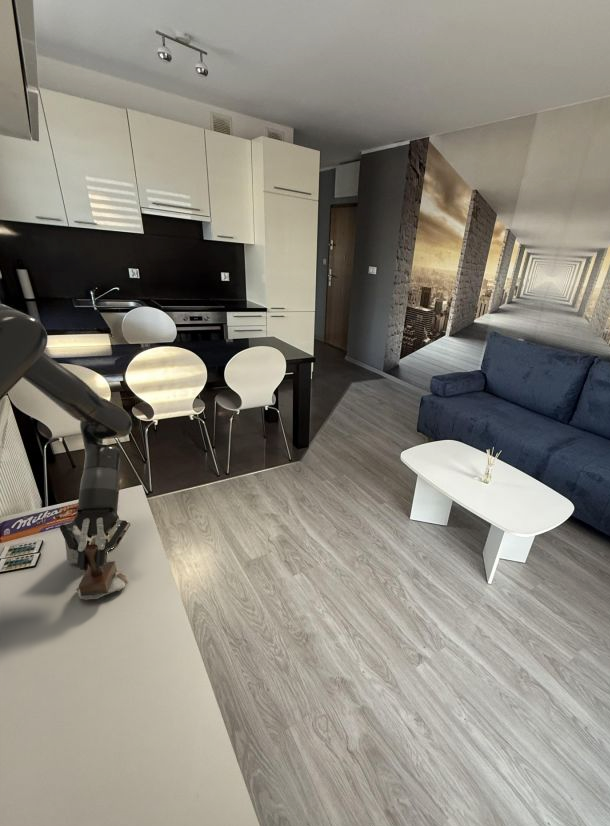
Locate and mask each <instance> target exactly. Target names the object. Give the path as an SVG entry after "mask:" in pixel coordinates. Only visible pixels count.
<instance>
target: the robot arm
mask: <svg viewBox="0 0 610 826" xmlns="http://www.w3.org/2000/svg"><path fill="white" fill-rule="evenodd" d="M48 339H49V338H48V333H47V330H46V328H45V326H44V325H43V324H42V323H41V322H40V320H38V319H36V318H34V317H33V316H31V315H30V314H27V313H24V312H22V311H20V310H17V309H15V308H12V307H10V306H8V305H5V304H3V303H0V402H2V400H3V399H4V398H5V397H6V396H7V394H8V393H9V392H10V391H12V389H13V388H14V387H15V386H16V385H17V384H18V383H19V382H20V381H21V380H22V379H24V380H25V381H26V382H28V383H29V384H31V386H33V387H34V388H35V389H37V390H38V391H39V392H41V394H43V395H44V396H45V397H46V398H48V399H49V400H50V401H52V402H53V403H54V404H55V405H56V406H58V407H59V408H60V409H61V410H63V411H64V412H65V413H66V414H68V415H69V416H70V417H71V418H73V419H75V420H77V421H80V423H79V428H80V429H79V430H80V433H81V438H82V442H83V448H84V453H85V454H84V462H83V471H82V476H81V479H80V485H79V493H78V501H77V509H76V515H75V517H74V518H73V521H71V522H68V523H66V524H64V523H63V524H60V525H59V530H60V532H61V534H62V537H63V539H64V542H65V541H66V543H67V545H68V547H69V549H72V550H76V551H78V561H77V564H76V567H77V568H79V571H87V569H88V562H87V558H86V554H85V550H84V549H85V547H86V546H88V545H90V543H91V541H92V538H93V536H95V535H97V536H98V540H99V551H97V559H96V569H103V566H105V565H106V563H107V562H108V554H107V552H108V550H109V549H111V548H113V547H115V548H117V547H118V546H119V545H120V543H121V541H122V540H123V538H124V536H125V535H126V533H127V532H128V530H129V528H130V527H131V522H129V521H128V520H123V519H121V518H120V516H119V515H118V506H119V495H120V494H119V493H120V490H121V485H120V484H121V480H120V479H121V478H120V477H121V476H120V469H121V461H122V460H121V458H122V453H121V450H120V449H119V448H118V447H116V446H113V445H108V444H103V442H104V440H110V439H111V440H112V439H120V438H124V437H127V436H128V435H129V434H131V431H132V430H133V420H132V418H131V416H130V414H129V413H128V412H127V411H126V410H125V409H124V408H123V407H121V406H119V405H118V404H116V403H114V402H112V401H110V400H108V399H106V398H104V397H102V396H100V395H99V394H98V393H97V392H96V391H95V390H93V388H92V387H90V385H89V384H88V383H87V382H85V381H84V380H83V379H82V378H80V377H79V376H78V375H76V374H75V373H73V372H72V371H70V370H69V369H67V368H66V367H65V366H63V365H62V364H60V363H59V362H57V361H56V360H54V359H53V358H51V356H49V355H48V354H47V353H46V352H45V350H46V348H47V345H48ZM116 523H117V524H116ZM115 524H116V531H115V533H114V535H113V536H112V538H111V539H110V541H109V531H110V530H111V529H112V528H113V527H114V525H115ZM76 526H77V527H78V529H79V530H80V531H81V534H80V538H79V539H80V542H79V544H78V542H77V539H76V537H75V535H74V532H75V527H76ZM108 553H109V552H108Z"/></svg>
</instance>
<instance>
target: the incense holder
mask: <svg viewBox="0 0 610 826" xmlns="http://www.w3.org/2000/svg"><path fill="white" fill-rule="evenodd" d="M116 525H117V523H116V524H115V525H114V527H113V528H112V529H111V530H110V531H109V541H110V539H111V538H112V536H113V535H114V533H115V531H116V530H117V528H116ZM80 534H81V531H80V530H79V529H78V527H77V526H76V527H75V532H74V535H75V537H76V539H77V542H78V544H79V542H80V539H79V538H80ZM64 544H65V552H66V561H67V562H68V563H70V564H76V565H77V561H78V551H76V550H72V549H69V547H68V545H67V543H66V541H65V540H64ZM91 544H96V545H97V546H98V550H99V540H98V536H97V535H95V536H93V538H92V541H91V543H90V545H91ZM109 550H110V549H109ZM109 550H108V551H109ZM109 552H110V551H109ZM88 567H89V566H88Z"/></svg>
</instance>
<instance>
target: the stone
mask: <svg viewBox="0 0 610 826" xmlns="http://www.w3.org/2000/svg"><path fill="white" fill-rule="evenodd" d="M127 584H128V580H127V577H126V573H125V572H122V571H117V572H116V575H115V577H114V579H113V582H112V584H111V586H110V589H109V591H108V593H106V594H97V595H87V596H81V593H80V589H79V585H77V587H76V588H75V589H76V592H77V593H78V594H77V596H78V598H79V599H81V600H87V601H88V600H97V599H100V598H102V597H104V596H106V595H109V594H111V593H115V592H116V591H117V592H120V591H121V590H122V589H124V588H125V587H126V585H127Z"/></svg>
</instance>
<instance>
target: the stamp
mask: <svg viewBox="0 0 610 826" xmlns="http://www.w3.org/2000/svg"><path fill="white" fill-rule="evenodd" d="M84 550H85V554H86V558H87V562H88V566H89V567H88V568H87V570H85V573H84V575H83V576H82V578H81V580H80V582H79V584H78V586H79V589H80V593H81V596H87V595H97V594H106V593H108V591H109V589H110V586H111V584H112V582H113V579H114V577H115V575H116V572H118V570H117V565H116V560H115V561H114V560H113V561H107V563H106V565H105V566H103V569H96V559H97V551H99V550H98V546H97V545H96V544H91V545H88V546H86V547H85V549H84ZM106 595H107V594H106Z"/></svg>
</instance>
